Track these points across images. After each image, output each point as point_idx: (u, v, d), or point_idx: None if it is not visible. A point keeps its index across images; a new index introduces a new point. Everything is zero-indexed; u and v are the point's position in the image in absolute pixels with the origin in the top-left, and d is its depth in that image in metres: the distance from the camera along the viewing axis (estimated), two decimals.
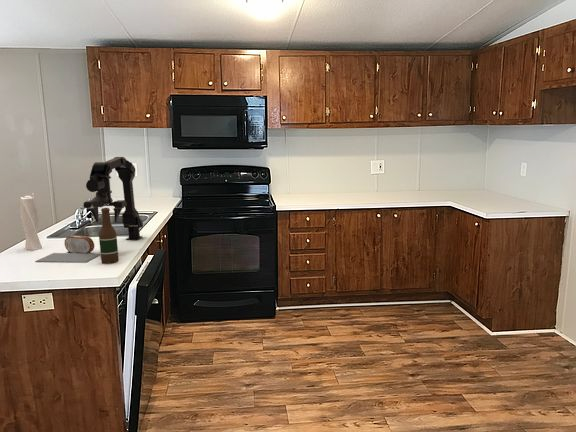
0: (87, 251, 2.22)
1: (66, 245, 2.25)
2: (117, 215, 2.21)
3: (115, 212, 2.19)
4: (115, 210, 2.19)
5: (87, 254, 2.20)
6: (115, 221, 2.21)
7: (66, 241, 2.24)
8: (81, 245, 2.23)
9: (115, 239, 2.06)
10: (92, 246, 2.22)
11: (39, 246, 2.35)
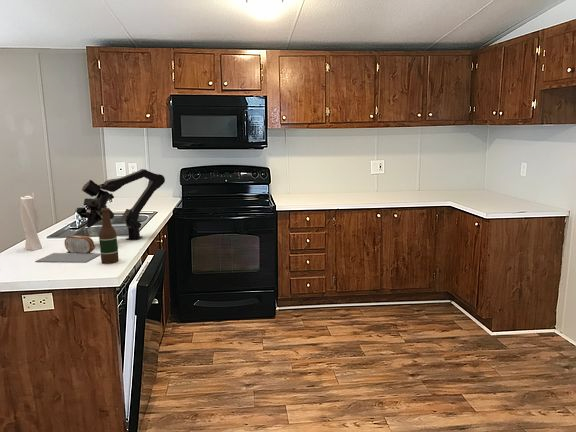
0: (87, 251, 2.23)
1: (66, 245, 2.25)
2: (92, 221, 2.31)
3: (92, 217, 2.31)
4: (93, 214, 2.31)
5: (87, 254, 2.20)
6: (88, 225, 2.30)
7: (66, 241, 2.24)
8: (81, 245, 2.23)
9: (115, 239, 2.06)
10: (92, 246, 2.22)
11: (39, 246, 2.35)
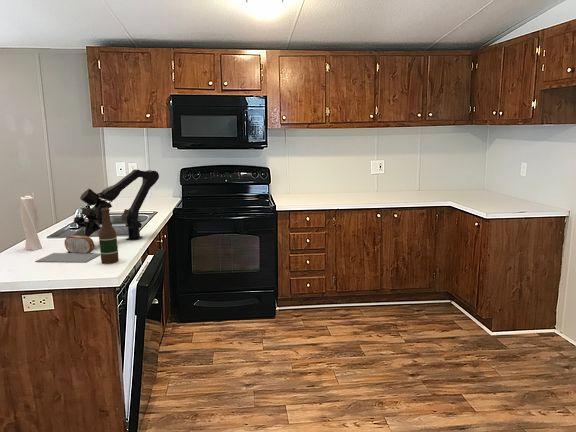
0: (87, 251, 2.23)
1: (66, 245, 2.25)
2: (90, 231, 2.30)
3: (90, 226, 2.30)
4: (91, 224, 2.30)
5: (87, 254, 2.20)
6: (86, 235, 2.28)
7: (66, 241, 2.24)
8: (81, 245, 2.23)
9: (115, 239, 2.06)
10: (92, 246, 2.22)
11: (39, 246, 2.35)
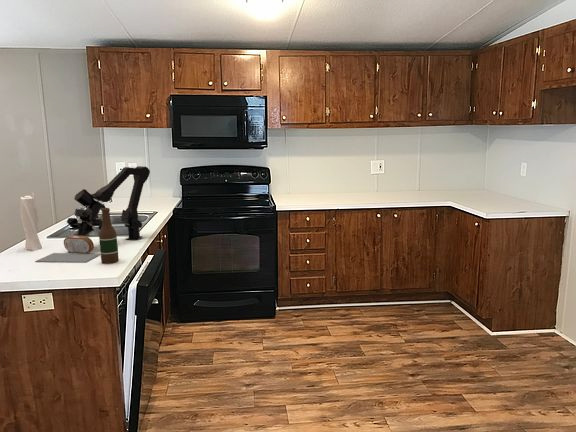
0: (87, 251, 2.22)
1: (65, 245, 2.25)
2: (83, 232, 2.25)
3: (83, 228, 2.25)
4: (84, 225, 2.25)
5: (87, 254, 2.20)
6: None
7: (65, 241, 2.24)
8: (80, 245, 2.22)
9: (115, 239, 2.06)
10: (91, 246, 2.22)
11: (39, 246, 2.35)
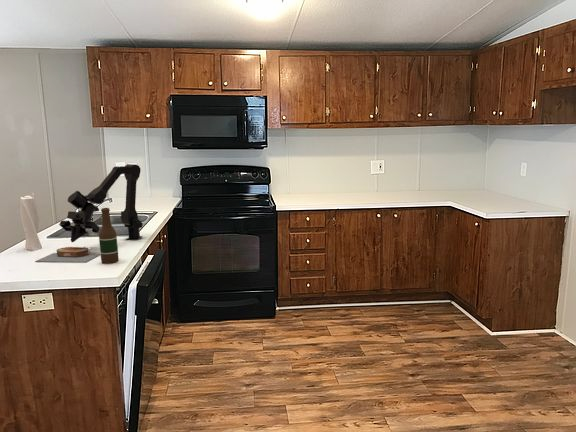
0: None
1: None
2: (76, 235, 2.21)
3: (76, 231, 2.21)
4: (77, 228, 2.21)
5: (87, 254, 2.20)
6: (72, 240, 2.19)
7: None
8: None
9: (115, 239, 2.06)
10: (87, 252, 2.19)
11: (39, 246, 2.35)
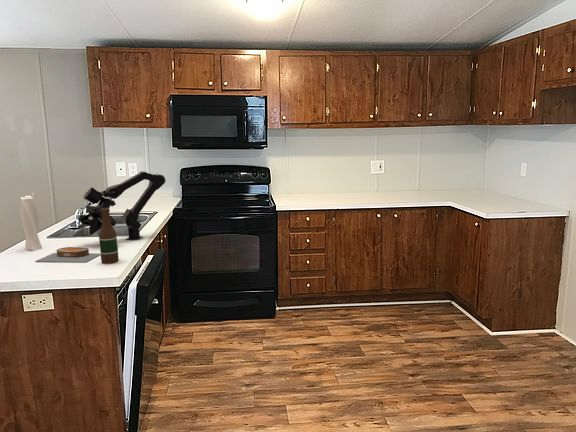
0: None
1: None
2: (95, 228, 2.33)
3: (94, 224, 2.33)
4: (95, 222, 2.33)
5: (87, 254, 2.20)
6: (90, 233, 2.31)
7: None
8: None
9: (115, 239, 2.06)
10: (87, 252, 2.19)
11: (39, 246, 2.35)
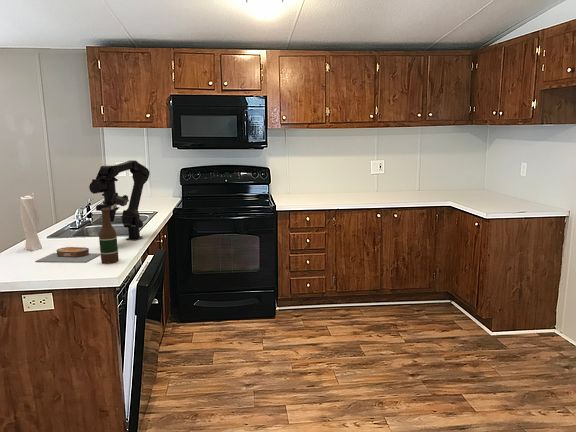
0: None
1: None
2: None
3: (115, 212, 2.36)
4: (116, 209, 2.36)
5: (87, 254, 2.20)
6: (113, 221, 2.36)
7: None
8: None
9: (115, 239, 2.06)
10: (87, 252, 2.19)
11: (39, 246, 2.35)
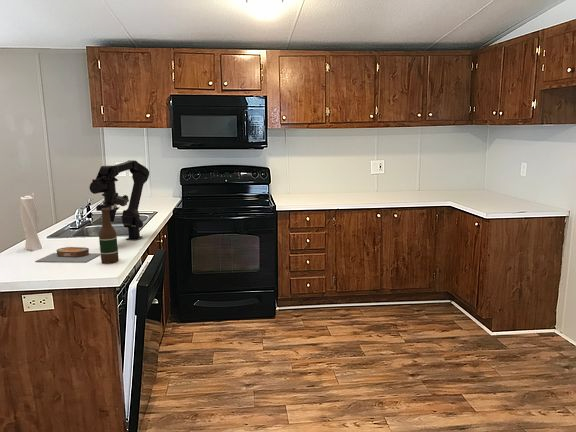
0: None
1: None
2: None
3: (115, 212, 2.36)
4: (116, 209, 2.36)
5: (87, 254, 2.20)
6: (113, 221, 2.36)
7: None
8: None
9: (115, 239, 2.06)
10: (87, 252, 2.19)
11: (39, 246, 2.35)
